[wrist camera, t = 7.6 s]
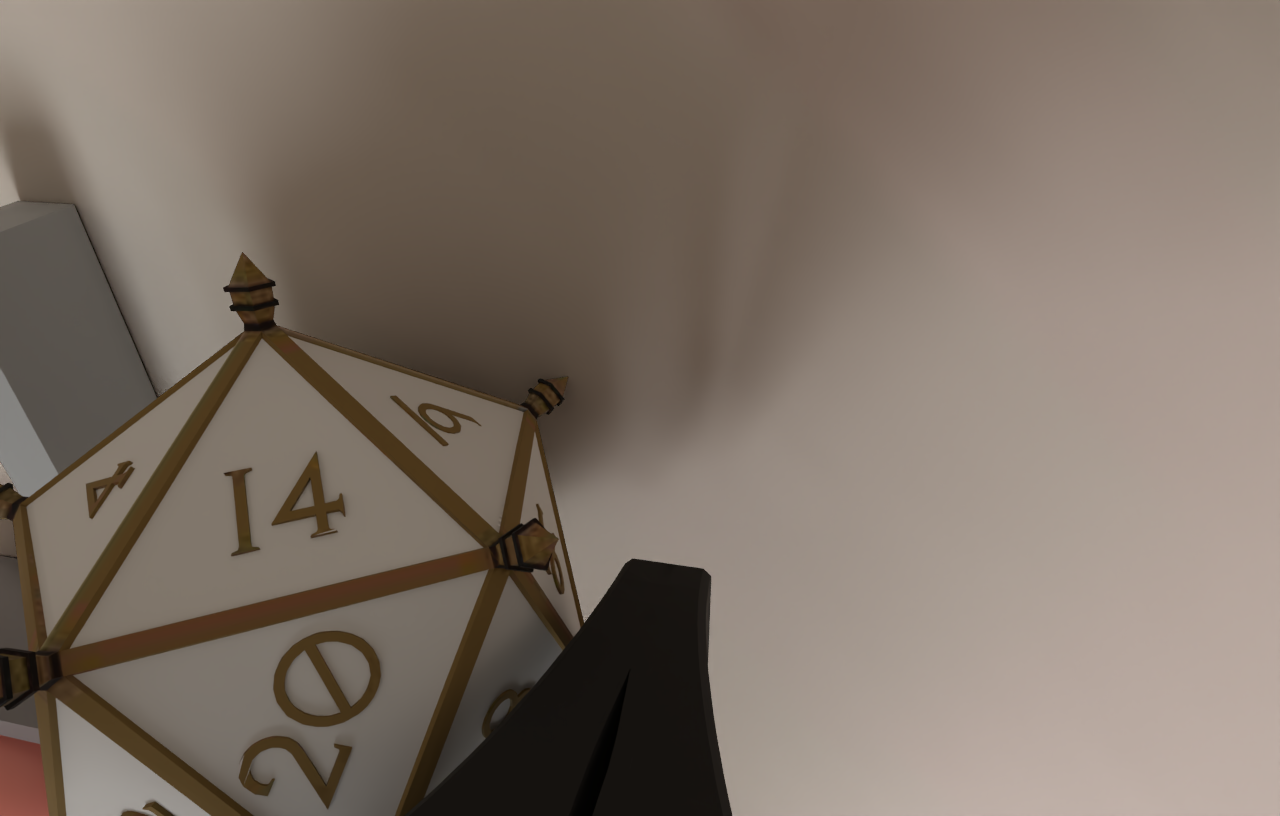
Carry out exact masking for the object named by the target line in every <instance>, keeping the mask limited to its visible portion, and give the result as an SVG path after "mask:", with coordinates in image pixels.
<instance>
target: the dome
mask: <svg viewBox="0 0 1280 816" xmlns="http://www.w3.org/2000/svg"><path fill="white" fill-rule="evenodd" d="M0 816H49V811H48V803H47V795H46V787H45V779H44V771H43V763H42V755H41V747H40V744H37V743H33V742H29V741H24V740H20V739H15V738H11V737H7V736H2V735H0Z"/></svg>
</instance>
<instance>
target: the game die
mask: <svg viewBox="0 0 1280 816" xmlns="http://www.w3.org/2000/svg"><path fill="white" fill-rule="evenodd" d="M272 286H276V284H275V281H273V280H270V279H268V278H266V277H265V275H264V274H263V273H262V272H261V271H260V270H259V269H258V268H257V267H256V266H255V265H254V264H253V263H252V262H251V261H250V260H249V258H248V257H247V256H246V255H245V254H244V253H243V252H242V254H241V256H240V259H239V261H238V264H237V266H236V269H235V271H234V274H233V276H232V279H231V281H230V284H229V285H228V286H226V287H224V288H223V289H224V292H230V295H231V298H232V301H233V305H231V306H229V307H230V310H231V311H236V312H237V313H238V315H239V316H240V318H241V319H242V321H243V322H244V332H243V333H241V334H240V335H239V336H237V337H236V338H235V339H234V340H232V341H231V342H230V343H228V344H227V345H226V346H224V347H223V348H222V349H221V350H219V351H218V352H217V353H215V354H214V355H213V356H211V357H210V358H209V359H208V360H206V361H205V362H204V363H202V364H201V365H200V366H198V367H197V368H196V369H195V370H193V371H192V372H191V373H189V374H188V375H187V376H185V377H184V378H183V379H182V380H180V381H179V382H178V383H176V384H175V385H174V386H173V387H171V388H170V389H169V390H167V391H166V392H165V393H163V394H162V395H161V396H160V397H158V398H157V399H156V400H154V401H153V402H152V403H150V404H149V405H148V406H147V407H145V408H144V409H143V410H141V411H140V412H139V413H137V414H136V415H135V416H134V417H132V418H131V419H130V420H128V421H127V422H126V423H124V424H123V425H122V426H121V427H119V428H118V429H117V430H115V431H114V432H113V433H112V434H110V435H109V436H108V437H106V438H105V439H104V440H102V441H101V442H100V443H99V444H97V445H96V446H95V447H93V448H92V449H91V450H89V451H88V452H87V453H86V454H84V455H83V456H82V457H80V458H79V459H78V460H76V461H75V462H74V463H73V464H71V465H70V466H69V467H67V468H66V469H65V470H64V471H62V472H61V473H60V474H58V475H57V476H56V477H54V478H53V479H52V480H51V481H49V482H48V483H47V484H45V485H44V486H43V487H41V488H40V489H39V490H38V491H36V492H35V493H34V494H32V495H31V496H30V497H24V496H21V495H20V494H19V493H17V492H16V491H14V490H13V484H10V483H7V484H5V485H1V484H0V519H9V520H12V521H13V527H14V535H15V544H16V552H17V560H18V568H19V576H20V584H21V593H22V601H23V609H24V617H25V625H26V633H27V642H28V650H29V651H26V650H20V649H13V648H1V649H0V707H3V706H4V707H5V709H6V710H7V711H8V710H11V709H14V708H15V707H17V706H18V705H19V704H21V703H22V702H24V701H25V700H26V699H28V698H29V697H31V696H32V695H33V694H34V698H35V706H36V714H37V722H38V730H39V738H40V747H41V755H42V763H43V771H44V779H45V787H46V795H47V803H48V811H49V816H404V815H406V814H407V813H408V812H409V811H410V810H411V809H412V808H413V807H415V806H416V805H417V804H418V803H419V802H420V801H421V800H422V799H424V798H425V797H426V796H427V795H428V794H429V793H430V792H431V791H432V790H434V789H435V788H436V787H437V786H438V785H439V784H440V783H441V782H442V781H443V780H444V779H445V778H446V777H447V776H448V775H449V774H450V773H451V772H452V771H454V770H455V769H456V768H457V767H458V766H459V765H460V764H461V763H462V762H463V761H464V760H465V759H466V758H467V757H468V756H469V755H470V754H471V753H472V752H473V751H474V750H475V749H476V748H477V747H478V746H479V745H480V744H481V743H482V742H483V741H484V740H485V739H486V738H487V737H488V736H489V735H490V733H491V732H492V731H493V730H494V729H495V728H496V727H497V726H498V725H499V724H500V723H501V722H502V721H503V720H504V718H505V717H506V716H507V715H508V714H509V713H510V712H511V711H512V709H513V708H514V707H515V706H516V705H517V704H518V703H519V702H520V701H521V699H522V698H523V697H524V696H525V695H526V694H527V693H528V692H529V691H530V689H531V688H532V687H533V686H534V685H535V684H536V683H537V682H538V680H539V679H540V678H541V677H542V676H543V674H544V673H545V672H546V671H547V670H548V668H549V667H550V666H551V665H552V663H553V662H554V661H555V660H556V658H557V657H558V656H559V655H560V653H561V652H562V651H563V650H564V648H565V647H566V646H567V645H568V644H569V642H570V641H571V640H572V639H573V637H574V636H575V635H576V634H577V632H578V631H579V630H580V628H581V627H582V626H583V624H584V621H583V617H582V612H581V608H580V604H579V599H578V595H577V591H576V586H575V582H574V578H573V574H572V569H571V565H570V561H569V556H568V552H567V548H566V544H565V539H564V535H563V531H562V526H561V522H560V518H559V514H558V509H557V505H556V501H555V496H554V492H553V488H552V483H551V479H550V475H549V471H548V466H547V462H546V458H545V453H544V449H543V445H542V441H541V436H540V432H539V428H538V423H537V418H538V417H539V416H541V415H543V414H545V413H546V414H548V415H549V414H550V413H551V412H552V410H553V409H554V406H555V405H558V406H559V405H560V404H561V403H562V402H563V401H564V400H565V399H564V398H563V394H564V391H565V387H566V383H567V379H568V377H562V378H555V379H549V380H543V379H540V378H539V379H538V383H539V384H538V385H537V386H536V387H535V388H534V389H532V388H530V389H529V390H528V392H529V396H528V398H527V399H526V401H525V403H523V404H521V405H519V404H516V403H513V402H510V401H507V400H504V399H501V398H498V397H495V396H491V395H488V394H485V393H482V392H479V391H476V390H473V389H470V388H467V387H464V386H461V385H458V384H455V383H452V382H449V381H445V380H442V379H439V378H436V377H433V376H430V375H427V374H424V373H421V372H418V371H415V370H412V369H409V368H406V367H403V366H400V365H396V364H393V363H390V362H387V361H384V360H381V359H378V358H375V357H372V356H369V355H366V354H363V353H360V352H357V351H354V350H350V349H347V348H344V347H341V346H338V345H335V344H332V343H329V342H326V341H323V340H320V339H317V338H314V337H311V336H308V335H304V334H301V333H298V332H295V331H292V330H289V329H286V328H283V327H280V326H277V325H276V323H275V321H274V320H273V318H274V308H275V306H276V305H279V302H278V300H277V299H275V298H274V297H273V292H272Z"/></svg>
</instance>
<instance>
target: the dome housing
mask: <svg viewBox="0 0 1280 816" xmlns="http://www.w3.org/2000/svg"><path fill="white" fill-rule="evenodd" d="M1 648H13V649H20V650H26V651H29V650H28V642H27V633H26V625H25V617H24V609H23V601H22V593H21V584H20V576H19V568H18V560H17V559H16V558H11V557H5V556H0V649H1ZM0 735H2V736H7V737H11V738H15V739H20V740H24V741H29V742H33V743H37V744H40V738H39V730H38V722H37V714H36V706H35V698H34V694H33V695H32V696H31V697H29V698H28V699H26V700H25V701H24V702H22V703H21V704H19V705H18V706H17V707H15V708H14V709H11V710H8V711H7V710H6V709H5V707H4V706H3V707H0Z"/></svg>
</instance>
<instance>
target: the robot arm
mask: <svg viewBox="0 0 1280 816" xmlns="http://www.w3.org/2000/svg"><path fill="white" fill-rule="evenodd" d="M710 595H711V576H710V575H709V574H708V573H707V572H706V571H705V570H704V569H701V568H694V567H687V566H680V565H673V564H667V563H660V562H653V561H646V560H639V559H631V560H630V561H628V562H627V563H625V565H624V566H623V568H622V569H621V571H620V573H619V574H618V576H617V577H616V579H615V581H614V582H613V583H612V585H611V586H610V588H609V589H608V591H607V592H606V594H605V595H604V597H603V598H602V600H601V601H600V602H599V604H598V605H597V607H596V608H595V609H594V611H593V612H592V613H591V615H590V616H589V618H588V619H587V620H586V622H585V623H584V624H583V626H582V627H581V628H580V630H579V631H578V632H577V634H576V635H575V636H574V637H573V639H572V640H571V641H570V642H569V644H568V645H567V646H566V647H565V648H564V650H563V651H562V652H561V653H560V655H559V656H558V657H557V658H556V660H555V661H554V662H553V663H552V665H551V666H550V667H549V668H548V670H547V671H546V672H545V673H544V674H543V676H542V677H541V678H540V679H539V680H538V682H537V683H536V684H535V685H534V686H533V687H532V688H531V689H530V691H529V692H528V693H527V694H526V695H525V696H524V697H523V698H522V699H521V701H520V702H519V703H518V704H517V705H516V706H515V707H514V708H513V709H512V711H511V712H510V713H509V714H508V715H507V716H506V717H505V718H504V720H503V721H502V722H501V723H500V724H499V725H498V726H497V727H496V728H495V729H494V730H493V731H492V732H491V733H490V735H489V736H488V737H487V738H486V739H485V740H484V741H483V742H482V743H481V744H480V745H479V746H478V747H477V748H476V749H475V750H474V751H473V752H472V753H471V754H470V755H469V756H468V757H467V758H466V759H465V760H464V761H463V762H462V763H461V764H460V765H459V766H458V767H457V768H456V769H455V770H454V771H452V772H451V773H450V774H449V775H448V776H447V777H446V778H445V779H444V780H443V781H442V782H441V783H440V784H439V785H438V786H437V787H436V788H435V789H434V790H432V791H431V792H430V793H429V794H428V795H427V796H426V797H425V798H424V799H422V800H421V801H420V802H419V803H418V804H417V805H416V806H415V807H413V808H412V809H411V810H410V811H409V812H408V813H407V814H406V815H404V816H732V812H731V808H730V803H729V798H728V794H727V789H726V784H725V779H724V774H723V768H722V763H721V757H720V752H719V747H718V741H717V735H716V728H715V722H714V716H713V707H712V699H711V691H710V682H709V674H708V648H709V621H710Z"/></svg>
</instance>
